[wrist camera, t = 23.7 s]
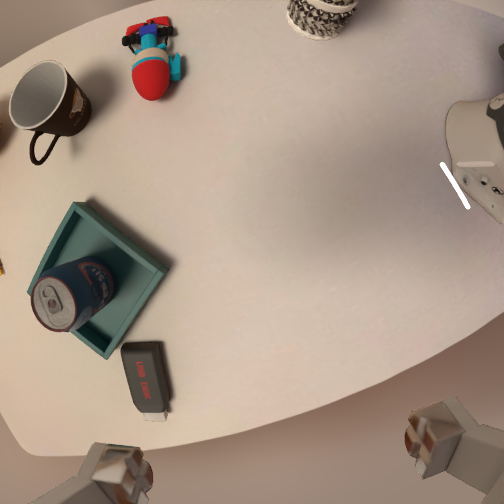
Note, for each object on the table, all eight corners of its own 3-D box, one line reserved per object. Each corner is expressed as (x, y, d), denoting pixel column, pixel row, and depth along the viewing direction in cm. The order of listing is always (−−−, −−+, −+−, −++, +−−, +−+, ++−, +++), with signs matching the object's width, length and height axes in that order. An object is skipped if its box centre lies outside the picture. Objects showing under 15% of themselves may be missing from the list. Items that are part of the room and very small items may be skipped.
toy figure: (125, 36, 36) (129, 114, 35) (118, 15, 31) (120, 96, 31) (174, 25, 37) (187, 101, 36) (172, 3, 32) (185, 80, 32)
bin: (169, 268, 39) (164, 273, 36) (114, 350, 40) (106, 360, 37) (84, 202, 37) (73, 201, 34) (38, 286, 38) (26, 292, 35)
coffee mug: (68, 79, 35) (36, 53, 25) (110, 99, 36) (81, 71, 26) (28, 149, 36) (-13, 137, 26) (66, 174, 37) (26, 165, 27)
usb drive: (159, 342, 40) (154, 350, 38) (174, 413, 42) (171, 423, 39) (123, 343, 40) (117, 351, 37) (141, 413, 42) (137, 423, 39)
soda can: (128, 294, 39) (92, 325, 27) (88, 312, 39) (46, 345, 27) (105, 245, 38) (61, 259, 26) (66, 266, 38) (16, 286, 26)
